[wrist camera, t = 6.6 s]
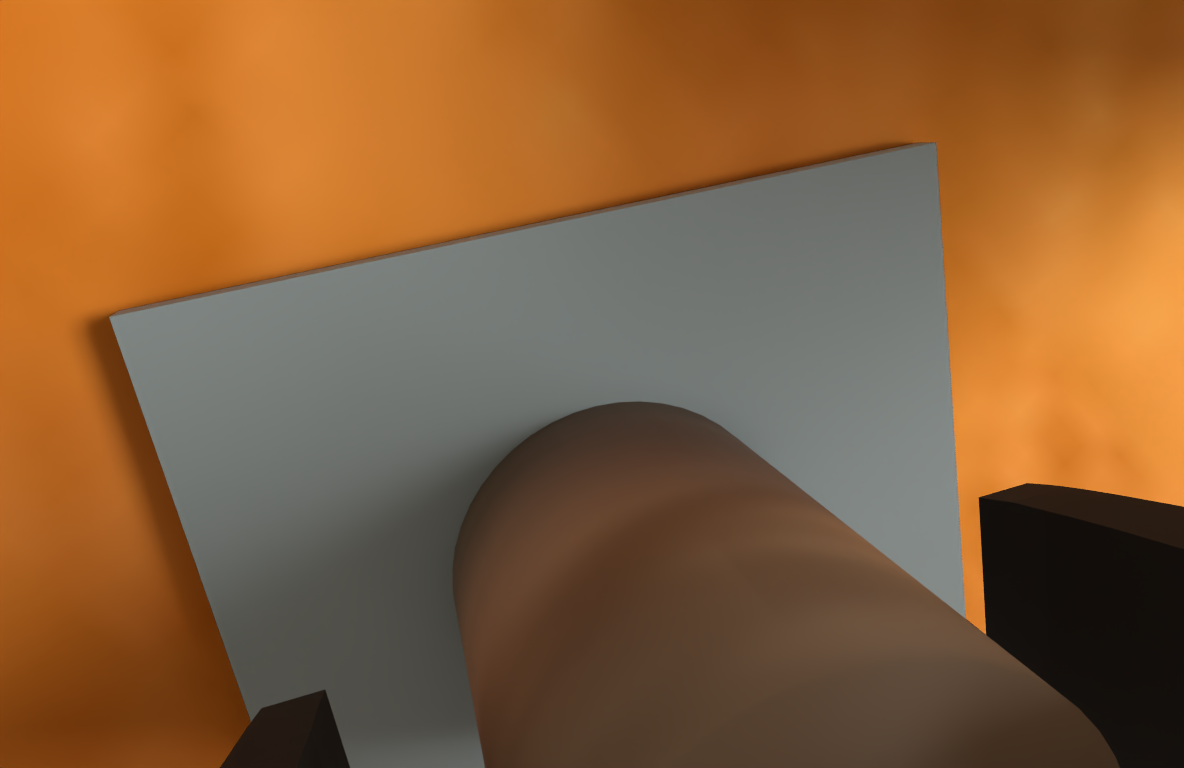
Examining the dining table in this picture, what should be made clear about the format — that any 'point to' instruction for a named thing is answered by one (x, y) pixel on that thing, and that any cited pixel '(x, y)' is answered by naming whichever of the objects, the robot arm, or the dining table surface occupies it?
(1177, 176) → the dining table surface
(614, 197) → the dining table surface
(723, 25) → the dining table surface
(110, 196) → the dining table surface
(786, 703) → the walnut cylinder
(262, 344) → the slate pad
